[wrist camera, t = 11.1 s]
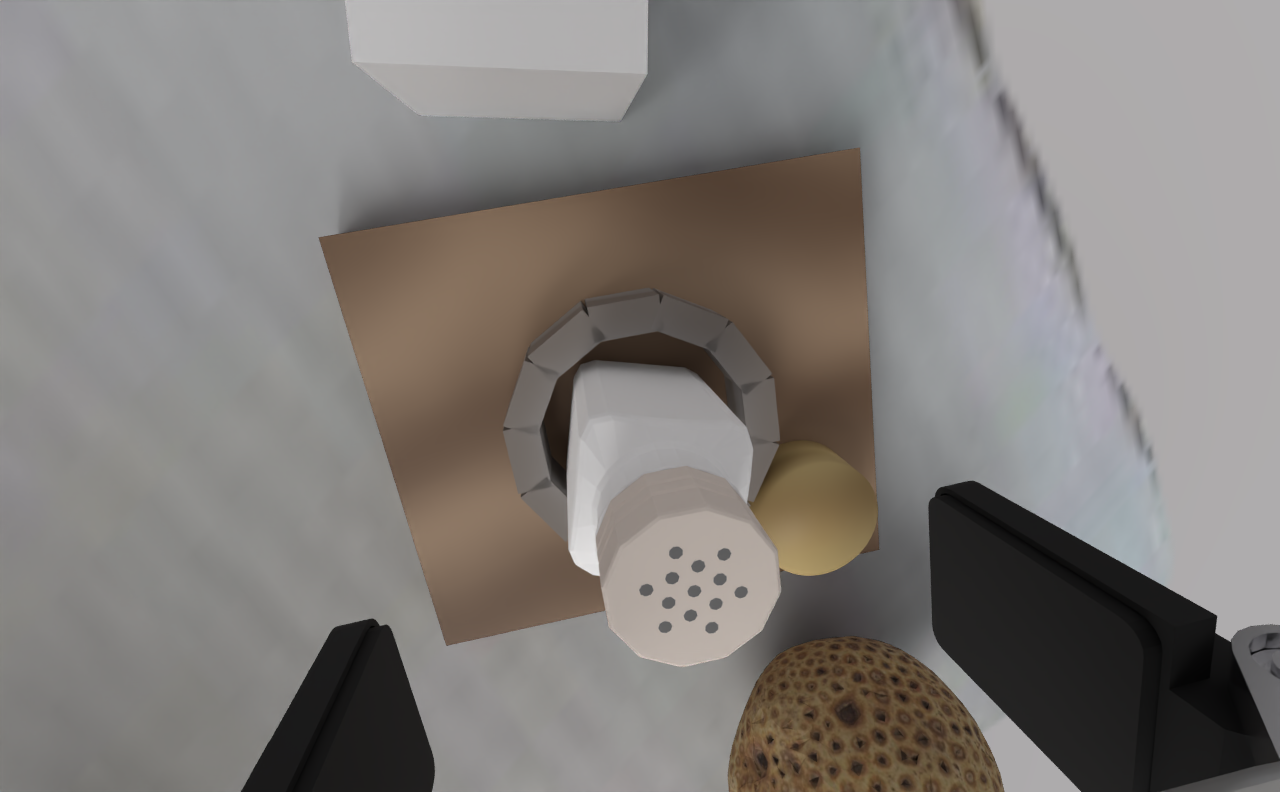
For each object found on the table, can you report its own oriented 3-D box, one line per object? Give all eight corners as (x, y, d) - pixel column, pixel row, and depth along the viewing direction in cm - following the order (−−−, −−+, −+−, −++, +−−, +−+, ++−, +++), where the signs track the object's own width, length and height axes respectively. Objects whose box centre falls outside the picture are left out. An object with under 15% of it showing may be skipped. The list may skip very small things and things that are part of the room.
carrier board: (859, 529, 23) (909, 580, 20) (453, 618, 22) (434, 688, 19) (837, 153, 19) (895, 138, 16) (337, 236, 18) (286, 238, 15)
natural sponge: (660, 634, 23) (729, 913, 14) (862, 539, 23) (1068, 751, 14) (742, 785, 26) (846, 1104, 17) (922, 699, 26) (1130, 969, 17)
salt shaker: (564, 472, 19) (568, 688, 10) (574, 354, 18) (588, 477, 9) (682, 479, 20) (783, 687, 11) (699, 364, 19) (825, 489, 10)
